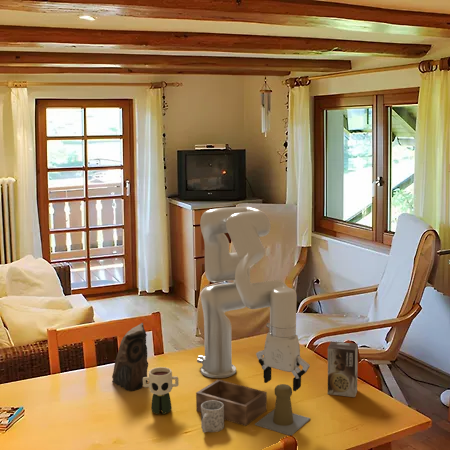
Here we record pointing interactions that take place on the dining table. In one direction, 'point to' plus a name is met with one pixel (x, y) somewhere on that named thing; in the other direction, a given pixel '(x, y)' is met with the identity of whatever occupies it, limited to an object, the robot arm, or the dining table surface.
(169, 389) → the character mug
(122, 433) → the dining table surface
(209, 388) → the walnut box
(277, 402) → the cork
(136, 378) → the owl
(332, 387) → the coffee box
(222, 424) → the mug
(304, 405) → the dining table surface
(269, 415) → the grey mat
